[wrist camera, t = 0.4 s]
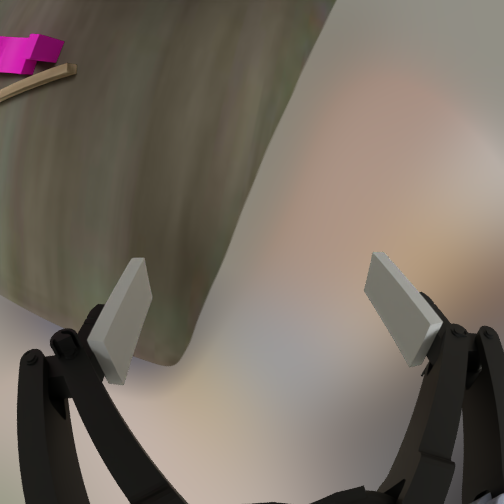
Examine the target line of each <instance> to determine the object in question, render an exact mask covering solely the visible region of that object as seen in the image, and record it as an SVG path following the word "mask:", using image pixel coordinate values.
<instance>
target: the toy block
mask: <svg viewBox="0 0 504 504" xmlns="http://www.w3.org/2000/svg"><path fill="white" fill-rule="evenodd" d="M63 44H64V41H61V40H58V39H55V38H51V37H48V36H44V35H41V34H30V37H29V38H16V37H2V36H0V72H5V73H17V74H29V75H33V72H34V69H35V66H36V63H37V61H44V62H53V63H56V62H57V59H58V57H59V54H60V51H61V49H62V47H63Z"/></svg>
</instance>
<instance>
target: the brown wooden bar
mask: <svg viewBox="0 0 504 504" xmlns="http://www.w3.org/2000/svg"><path fill="white" fill-rule="evenodd" d="M74 74H77V65H75V64H70V63H65V64H62V65H59V66H56V67H54V68H51V69H48V70H45V71H43V72H40V73H38V74H35V75H33V76H30V77H28V78H25V79H23V80H21V81H18V82H16V83H14V84H12V85H10V86H8V87H6V88H3V89H1V90H0V102H2V101H4V100H6V99H8V98H10V97H13V96H15V95H17V94H20V93H22V92H25V91H27V90H30V89H32V88H35V87H37V86H40V85H43V84H46V83H49V82H51V81H54V80H58V79H61V78H64V77H67V76H70V75H74Z"/></svg>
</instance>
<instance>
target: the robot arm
mask: <svg viewBox="0 0 504 504" xmlns="http://www.w3.org/2000/svg"><path fill="white" fill-rule="evenodd" d="M364 292H365V293H366V295H367V296H368V298H369V300H370V301H371V303H372V304H373V306H374V308H375V309H376V311H377V313H378V314H379V316H380V317H381V319H382V321H383V322H384V324H385V326H386V327H387V329H388V331H389V332H390V334H391V336H392V337H393V339H394V341H395V343H396V344H397V346H398V348H399V350H400V351H401V353H402V355H403V357H404V359H405V360H406V362H407V364H408V366H409V367H413V366H417V365H421V364H422V363H423V361H424V359H425V357H426V356H427V357H428V359H429V363H428V364H427V366H426V368H425V370H424V371H423V373H422V375H421V376H423V375H424V378H423V382H422V385H421V389H420V393H419V396H418V399H417V402H416V406H415V409H414V412H413V415H412V418H411V420H410V423H409V426H408V429H407V431H406V434H405V437H404V440H403V442H402V444H401V447H400V450H399V452H398V454H397V457H396V459H395V461H394V463H393V465H392V468H391V470H390V472H389V474H388V476H387V478H386V479H385V481H384V482H383V483H382V485H381V486H380V487H379V489H378V490H377V492H376V491H366V490H365V488H364V486H361V487H357V488H353V489H349V490H345V491H341V492H336V493H334V494H332V495H330V496H327V497H325V498H323V499H321V500H318V501H316V502H313V503H311V504H444V501H445V498H446V495H447V493H448V490H449V487H450V484H451V480H452V477H453V474H454V470H455V463H454V462H452V461H451V456H452V452H453V448H454V444H455V440H456V435H457V431H458V426H459V421H460V416H461V410H462V412H463V432H464V463H463V465H464V466H463V483H462V504H504V352H503V348H502V345H501V342H500V339H499V336H498V334H497V333H496V331H495V330H494V329H492V328H491V327H488V326H482V327H481V328H480V329H479V331H478V333H477V334H474V333H468V332H467V331H466V329H465V328H463V327H462V326H460V325H458V324H451V323H450V322H449V321H448V319H447V318H446V317H445V316H444V315H443V313H442V312H441V311H440V310H439V309H438V307H437V306H436V305H435V304H434V302H433V301H432V300H431V299H430V298H429V297H428V296H427V295H426V294H424V293H422V292H418V291H417V289H416V288H415V287H414V286H413V285H412V283H411V282H410V281H409V280H408V279H407V278H406V277H405V275H404V274H403V273H402V272H401V271H400V270H399V269H398V268H397V266H396V265H395V264H394V263H393V262H392V261H391V260H390V259H389V257H388V256H387V255H386V254H385V253H384V252H373V254H372V258H371V263H370V268H369V272H368V276H367V280H366V284H365V289H364ZM151 301H152V293H151V288H150V284H149V279H148V274H147V269H146V264H145V258H132V259H131V260H130V262H129V264H128V265H127V267H126V269H125V270H124V272H123V274H122V275H121V277H120V279H119V281H118V282H117V284H116V286H115V288H114V289H113V291H112V293H111V295H110V297H109V298H108V300H107V302H106V304H98V305H96V306H95V307H94V308H93V309H92V310H91V311H90V313H89V314H88V316H87V319H86V320H85V322H84V325H82V327H81V329H80V331H79V333H78V334H77V333H76V332H75V330H73V329H66V328H65V329H62V330H59V331H58V332H56V333H55V334H54V335H53V336H52V337H51V340H50V346H51V348H52V349H53V351H54V353H55V355H54V356H47V357H45V356H44V354H43V353H42V352H41V351H40V350H38V349H32V350H29V351H27V352H26V353H25V354H24V355H23V356H22V358H21V360H20V367H19V379H18V380H19V381H18V396H17V397H18V398H17V435H18V451H19V463H20V472H21V479H22V485H23V492H24V497H25V502H26V504H90V502H89V499H88V496H87V493H86V489H85V485H84V482H83V479H82V474H81V471H80V467H79V462H78V457H77V453H76V448H75V443H74V437H73V432H72V425H71V419H70V411H69V403H68V398H73V401H74V403H75V405H76V407H77V410H78V412H79V414H80V417H81V419H82V421H83V423H84V425H85V427H86V429H87V431H88V433H89V435H90V437H91V439H92V441H93V443H94V445H95V447H96V449H97V451H98V452H99V454H100V456H101V458H102V459H103V461H104V463H105V465H106V466H107V468H108V470H109V471H110V473H111V475H112V476H113V478H114V479H115V481H116V482H117V484H118V486H119V487H120V489H121V490H122V491H123V493H124V494H125V496H126V497H127V499H128V500H129V502H130V504H188V503H187V502H186V501H185V500H184V498H183V497H182V496H181V495H180V494H179V493H178V492H177V491H176V489H175V488H174V487H173V486H172V485H171V484H170V482H169V481H168V480H167V479H166V478H165V476H164V475H163V474H162V473H161V471H160V470H159V469H158V468H157V466H156V465H155V464H154V462H153V461H152V460H151V459H150V457H149V456H148V454H147V453H146V452H145V450H144V449H143V448H142V446H141V445H140V443H139V442H138V440H137V439H136V438H135V436H134V435H133V433H132V432H131V430H130V429H129V427H128V425H127V424H126V422H125V421H124V419H123V418H122V416H121V415H120V413H119V411H118V409H117V408H116V406H115V404H114V403H113V401H112V399H111V398H110V396H109V394H108V392H107V391H106V389H105V387H104V385H103V383H102V381H103V378H104V376H105V377H106V379H107V381H108V383H110V384H118V385H124V383H125V380H126V376H127V372H128V369H129V366H130V363H131V360H132V357H133V353H134V350H135V347H136V344H137V341H138V338H139V335H140V332H141V329H142V326H143V323H144V320H145V318H146V315H147V312H148V309H149V306H150V304H151ZM481 367H482V368H481ZM255 504H285V503H276V502H269V503H255Z"/></svg>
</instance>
